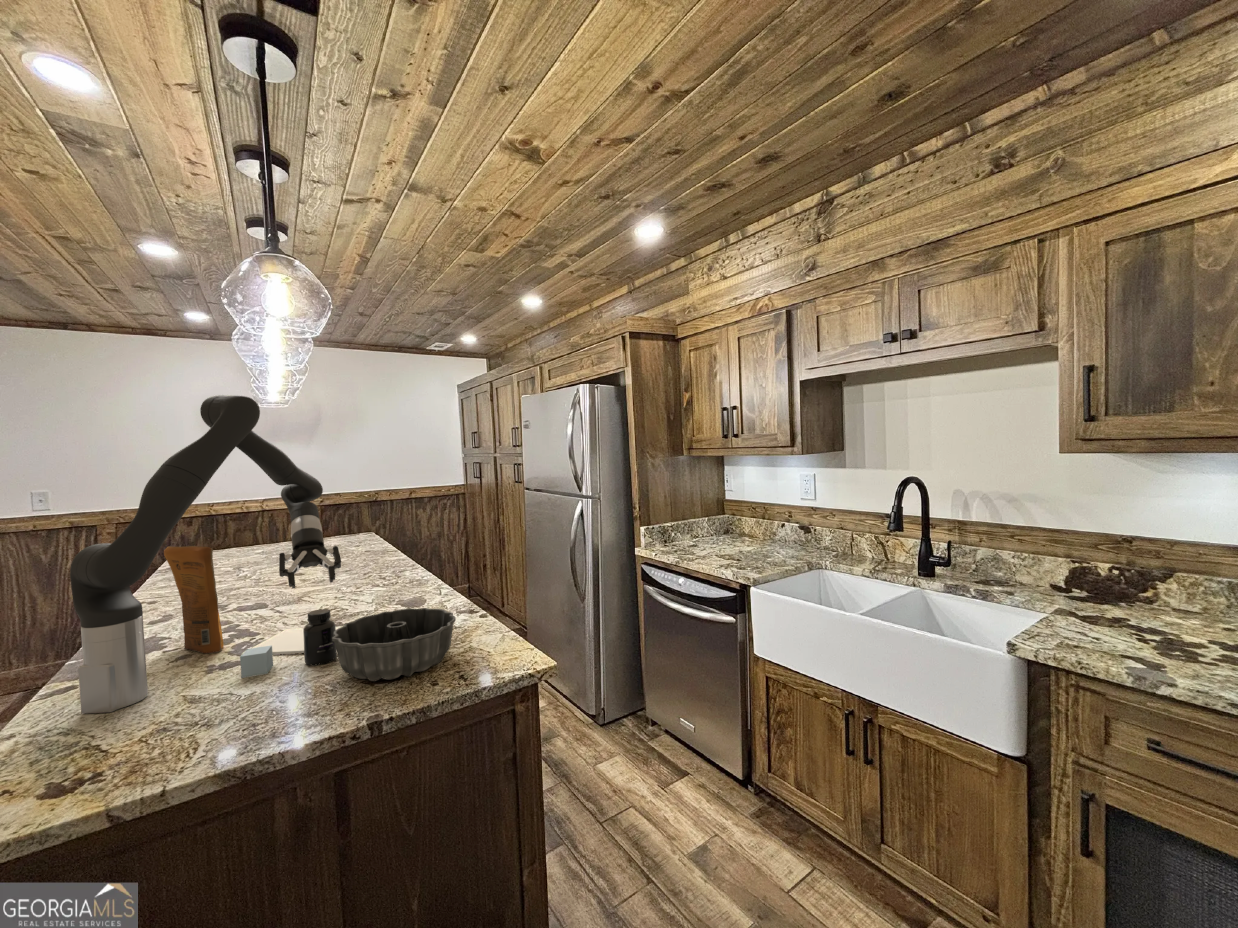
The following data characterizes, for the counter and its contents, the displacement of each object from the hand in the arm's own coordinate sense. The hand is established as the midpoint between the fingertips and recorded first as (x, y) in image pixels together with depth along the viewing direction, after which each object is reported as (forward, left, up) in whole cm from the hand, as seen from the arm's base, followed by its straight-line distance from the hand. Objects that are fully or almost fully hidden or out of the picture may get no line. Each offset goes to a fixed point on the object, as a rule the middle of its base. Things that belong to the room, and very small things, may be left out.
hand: (313, 583), depth 135 cm
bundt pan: (-15, -28, -17) cm, 36 cm away
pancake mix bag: (+2, +32, -17) cm, 36 cm away
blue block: (-15, +5, -17) cm, 23 cm away
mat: (+4, +7, -17) cm, 19 cm away
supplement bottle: (-10, -7, -17) cm, 21 cm away
